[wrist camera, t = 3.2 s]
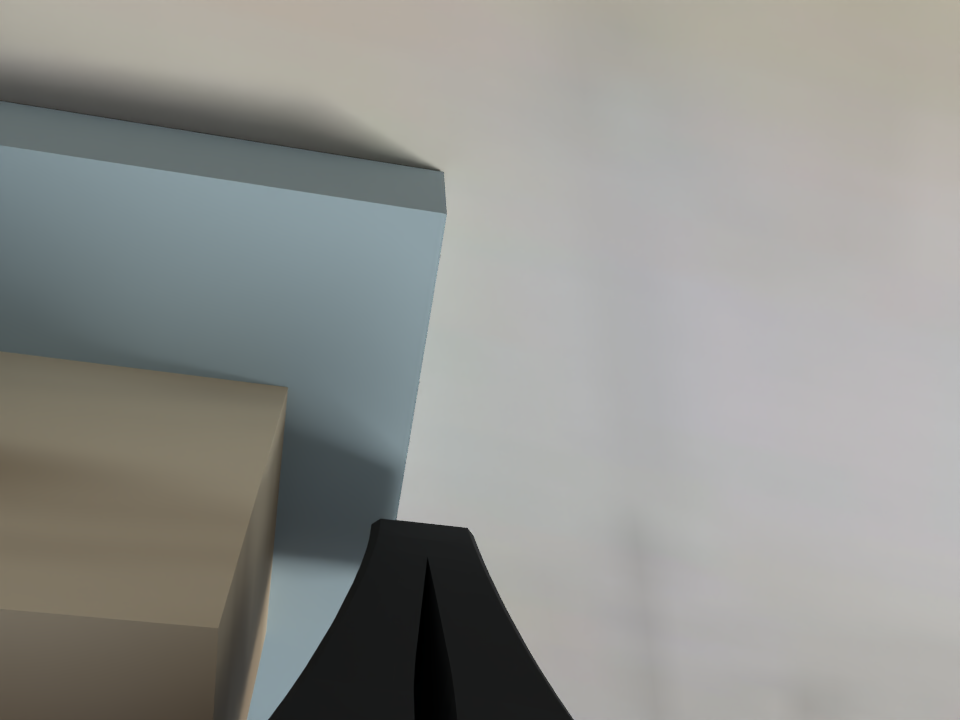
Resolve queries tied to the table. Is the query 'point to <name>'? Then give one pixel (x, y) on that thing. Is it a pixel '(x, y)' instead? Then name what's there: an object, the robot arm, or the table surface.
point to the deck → (238, 312)
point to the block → (133, 540)
